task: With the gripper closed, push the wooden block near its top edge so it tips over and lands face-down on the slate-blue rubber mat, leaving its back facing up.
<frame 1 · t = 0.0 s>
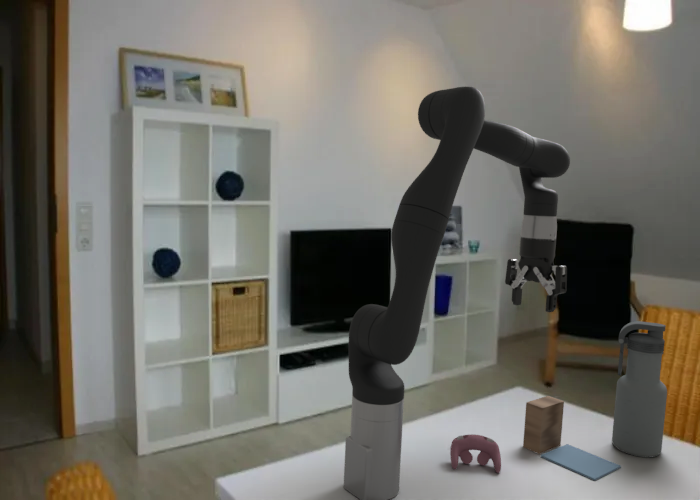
hand: (533, 308, 128), 29 cm above the table, fingers open, 8 cm apart
wooden block: (541, 446, 125), on the table
water bottle: (634, 449, 125), on the table
rubber mat: (580, 462, 117), on the table
video game controller: (474, 467, 114), on the table
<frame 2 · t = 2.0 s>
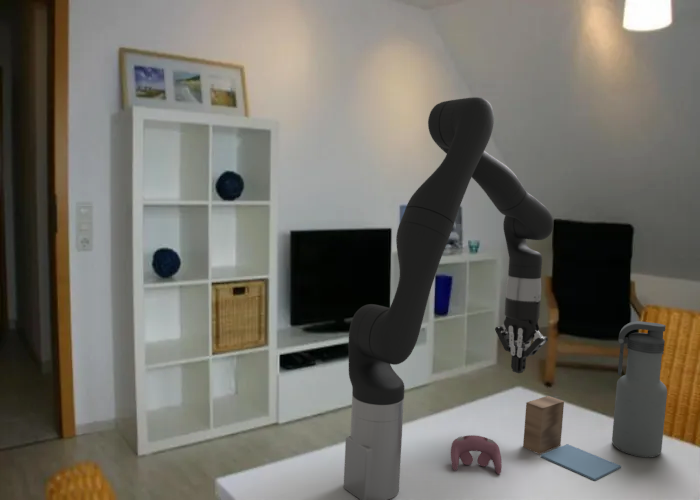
hand: (518, 372, 129), 14 cm above the table, fingers closed
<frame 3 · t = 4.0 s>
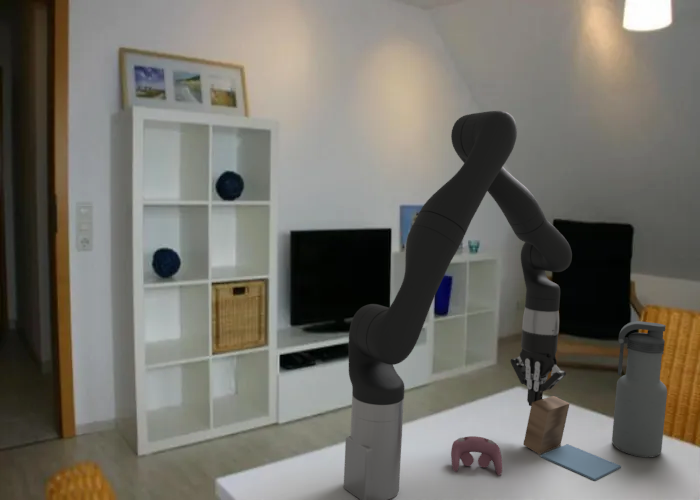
hand: (534, 405, 126), 8 cm above the table, fingers closed
wooden block: (542, 445, 125), on the table, tilted 8°
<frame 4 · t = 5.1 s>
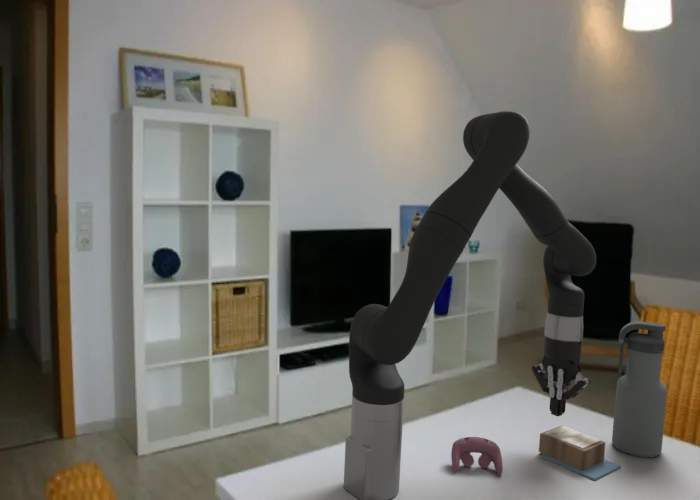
hand: (556, 414, 122), 8 cm above the table, fingers closed
wooden block: (550, 438, 123), point 2 cm above the table, tilted 90°, touching rubber mat
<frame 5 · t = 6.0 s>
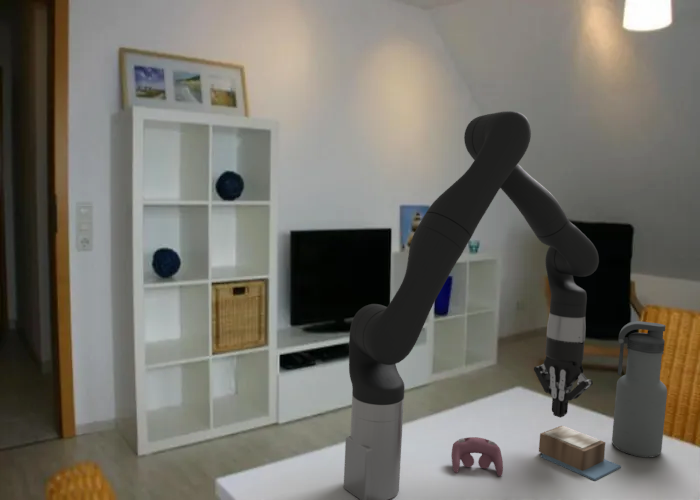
hand: (559, 415, 121), 8 cm above the table, fingers closed
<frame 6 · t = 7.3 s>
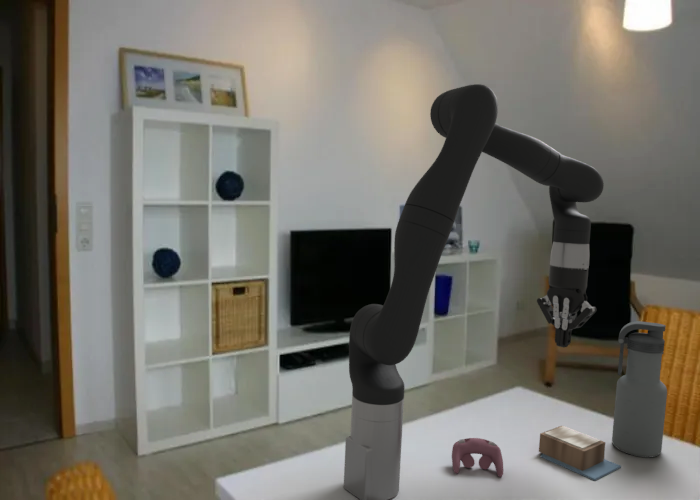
hand: (562, 346, 120), 23 cm above the table, fingers closed
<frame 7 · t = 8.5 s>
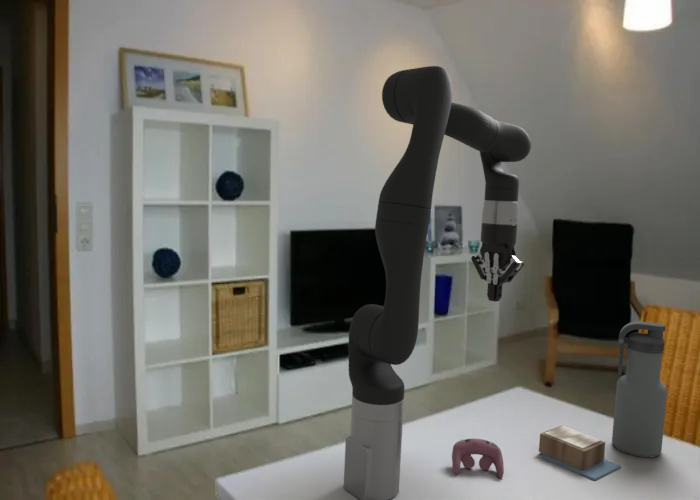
hand: (494, 300, 125), 31 cm above the table, fingers closed
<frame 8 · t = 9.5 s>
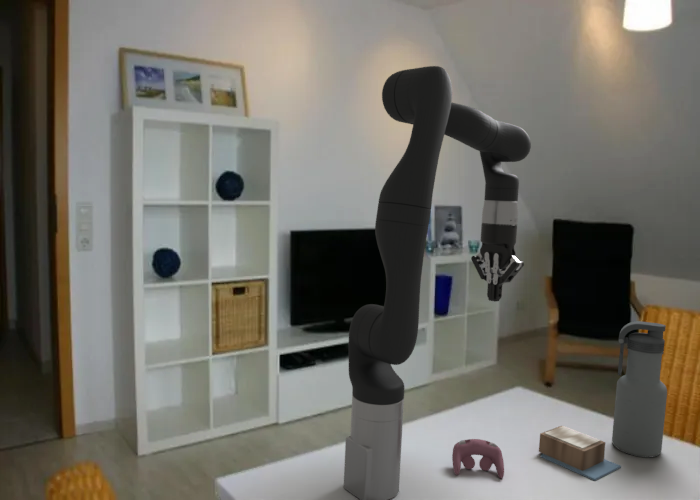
hand: (494, 300, 125), 31 cm above the table, fingers closed
at the end: wooden block tilted 90°; wooden block touching rubber mat; wooden block inside the target area (0.1 cm from its centre), point 2.4 cm above the table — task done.
